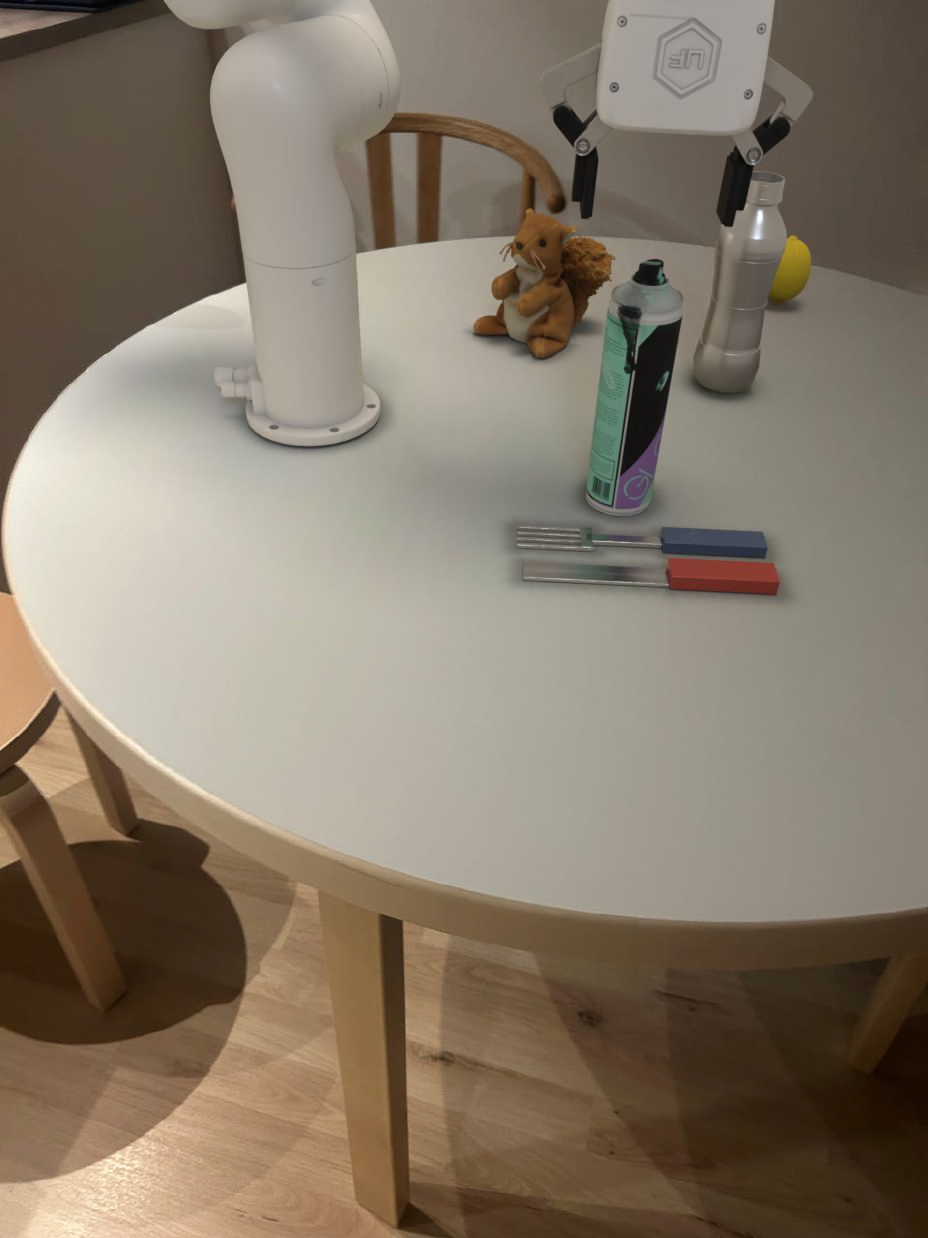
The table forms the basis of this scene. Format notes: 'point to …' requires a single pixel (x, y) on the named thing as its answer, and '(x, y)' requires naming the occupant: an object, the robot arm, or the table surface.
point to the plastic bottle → (742, 288)
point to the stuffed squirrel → (546, 284)
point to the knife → (666, 575)
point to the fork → (649, 540)
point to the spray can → (633, 390)
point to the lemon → (791, 271)
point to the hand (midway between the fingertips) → (654, 216)
